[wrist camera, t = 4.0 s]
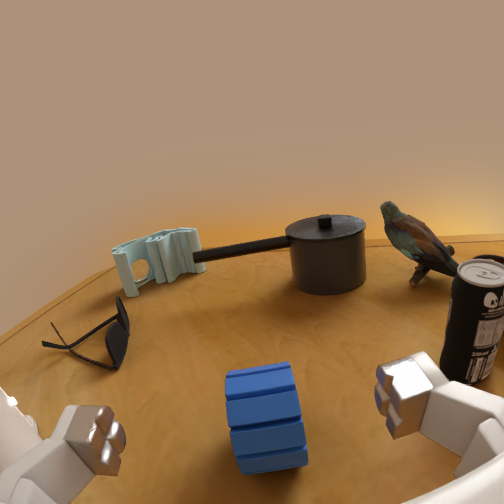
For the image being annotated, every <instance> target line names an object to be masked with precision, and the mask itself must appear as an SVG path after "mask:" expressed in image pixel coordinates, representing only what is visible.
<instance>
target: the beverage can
mask: <svg viewBox="0 0 504 504" xmlns="http://www.w3.org/2000/svg"><path fill="white" fill-rule="evenodd" d="M457 272H458V273H457V275H456V276H455V277H454V279H453V281H452V288H451V297H450V304H449V312H448V318H447V325H446V331H445V336H444V342H443V347H442V352H441V357H440V368H441V370H442V372H443V373H444V374H445V376H446V377H447V378H448V379H449V380H450V381H456V382H459V383H462V384H465V385H472V384H476V383H478V382H480V381H482V380H484V379H485V378H486V377H487V376H488V375H489V374H490V372H491V370H492V367H493V364H494V361H495V357H496V354H497V351H498V348H499V344H500V341H501V337H502V333H503V330H504V265H502V264H500V263H498V262H495V261H491V260H486V259H472V260H467V261H464V262H462V263H461V264H460V265H459V266H458V270H457Z"/></svg>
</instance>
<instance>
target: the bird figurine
mask: <svg viewBox="0 0 504 504" xmlns="http://www.w3.org/2000/svg"><path fill="white" fill-rule="evenodd" d="M380 207H381V212H382V215H383V218H384V223H385V227H384V229H385V233H386V235H387V237H388V238H389V240H390V241H391V243H392V244H393V246H394V247H395V248H396V249H398V250H399V251H401V252H402V253H403V254H404V255H405V256H406V257H408V258H410V259H411V260H414V261H416V262H417V263H419V264H418V266H417V267H415V269H417V270H416V271H415V273H414V275H413V277H412V278H411V279H410V280H409V283H410V285H411V286H413V287H414V286H416V285H417V284H418V283H419V282H420V281H421V280H422V278H423V277H424V276H425V275H426V274H427V273H428V272H429V270H430V269H431V270H434V271H437V272H440V273H443V274H446V275H448V276H451V277H455V276H456V275H457V273H458V272H457V270H458V266H459V264H458V263H457V262H456V261H454V260H453V258H452V257H451V256H452V255H454V253H455V252H454V248H453V247H452V246H451V245H449V246H447V247H445V246H444V245H443V244H442V242H441V241H440V240H439V239H438V238H437V237H436V236H435V235H434V233H433V232H432V231H431V230H430V229H429V228H428V227H427V226H426V225H425V223H423V222H421V221H420V220H418V219H416V218H414V217H412V216H410V215H406V214H404V213H402V212H400V210H399V209H398V207H397V206H396V205H395V204H394V203H392V202H391V201H387V202H384V203H383V204H382V205H381V206H380Z"/></svg>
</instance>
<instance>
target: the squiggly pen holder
mask: <svg viewBox="0 0 504 504" xmlns="http://www.w3.org/2000/svg"><path fill="white" fill-rule="evenodd" d="M201 250H202V249H201V245H200V241H199V236H198V231H197V229H196V228H183V227H181V228H177V229H173V230H167V229H165V230H162V231H159V232H157V233H154V234H151V235H148V236H145V237H142V238H139V239H136V240H132V241H129V242H126V243H124V244H121V245H118V246H116V247H114V248H113V249H112V252H113V256H114V260H115V263H116V267H117V270H118V273H119V276H120V279H121V282H122V285H123V288H124V291H125V294H126V296H128V297H136V296H139V292H138V288H139V287H140V286H141V285H143V284H145V283H147V282H149V281H151V280H153V279H155V278H156V282H157V283H158V284H161V283H164V282H166V281H168V283H171V282H173V281H174V280H175V279H176V278H177V277H178V276H179V275H180V274H181V273H183V274H184V273H186V272H193V273H196V272H197V274H199V273H202V272H204V271H205V270H206V267H205V262H202V263H197V264H195V263H194V261H193V255H192V254H193V252H196V251H201ZM138 259H144V260H146V261H147V263H148V265H149V271H148V274H147V276H146V277H144V278H143V279H141V280H144V279H148V280H147V281H146V282H144V283H142V284H138V285H137V284H135V283H136V282H139V281H141V280H138V281H134V276H133V273H132V269H131V266H132V264H133V263H134V262H135V261H136V260H138Z"/></svg>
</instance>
